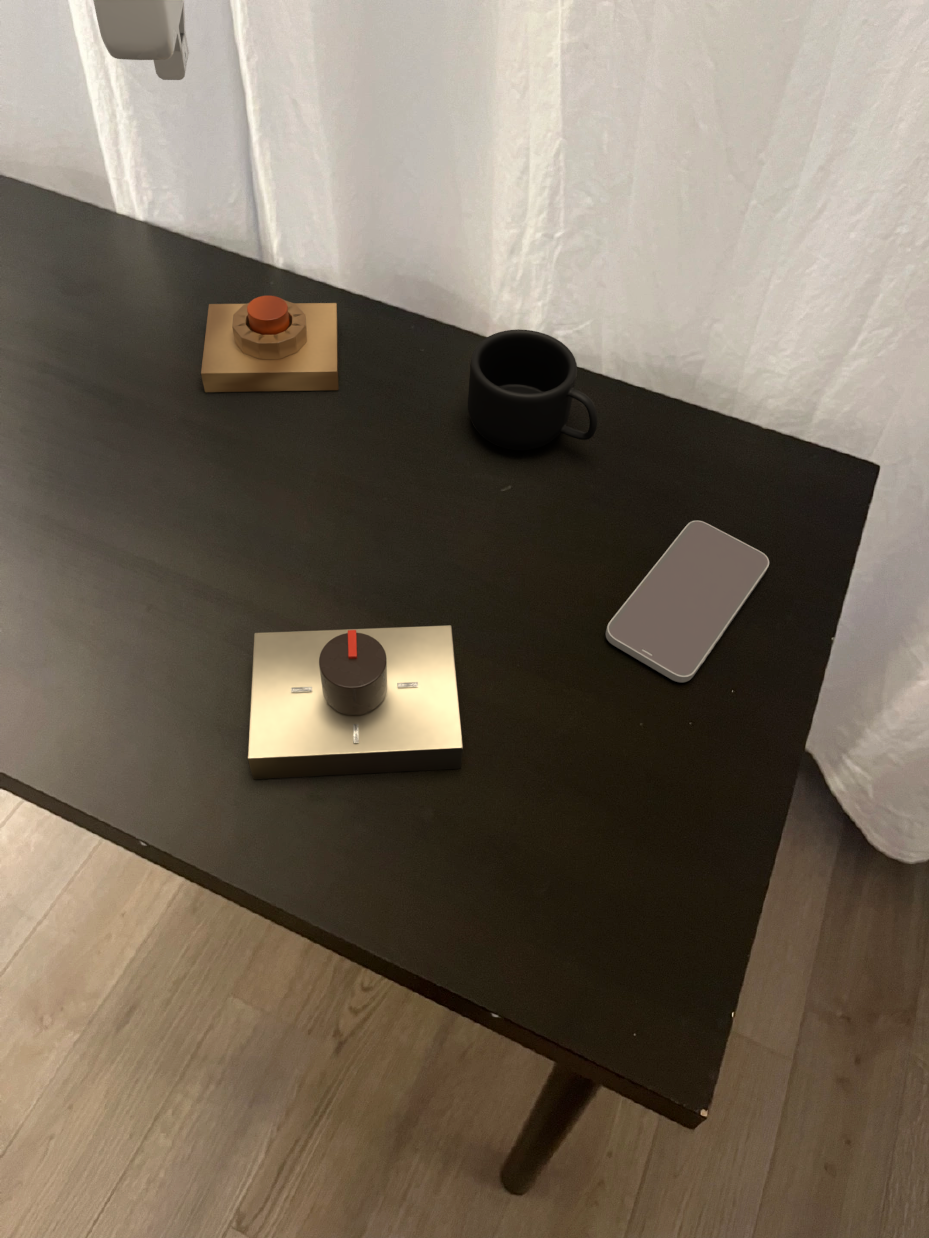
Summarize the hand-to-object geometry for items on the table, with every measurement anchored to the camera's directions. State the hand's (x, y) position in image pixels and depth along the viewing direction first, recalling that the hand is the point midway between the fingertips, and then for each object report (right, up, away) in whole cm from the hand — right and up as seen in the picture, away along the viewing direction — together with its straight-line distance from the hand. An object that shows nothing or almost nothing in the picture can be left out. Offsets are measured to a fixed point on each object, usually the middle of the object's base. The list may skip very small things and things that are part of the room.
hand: (173, 69), depth 61 cm
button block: (+1, -11, +28) cm, 30 cm away
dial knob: (+11, -40, +4) cm, 42 cm away
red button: (+1, -8, +26) cm, 27 cm away
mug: (+25, -19, +24) cm, 39 cm away
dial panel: (+11, -42, +6) cm, 44 cm away
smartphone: (+36, -34, +14) cm, 52 cm away
